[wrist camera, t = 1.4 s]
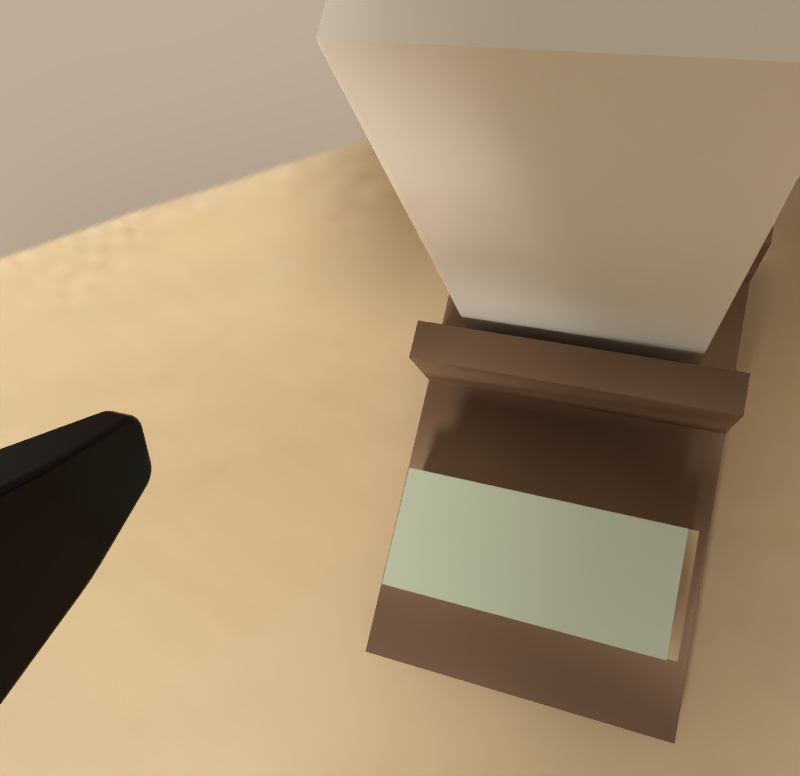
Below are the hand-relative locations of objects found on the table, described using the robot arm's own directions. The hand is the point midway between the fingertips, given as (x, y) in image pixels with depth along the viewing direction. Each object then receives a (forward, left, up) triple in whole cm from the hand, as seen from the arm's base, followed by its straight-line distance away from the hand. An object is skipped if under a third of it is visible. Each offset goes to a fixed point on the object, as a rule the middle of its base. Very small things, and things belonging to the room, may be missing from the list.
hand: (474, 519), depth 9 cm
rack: (+2, +2, -13) cm, 13 cm away
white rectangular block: (+5, +5, -12) cm, 13 cm away
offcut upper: (0, 0, -10) cm, 10 cm away
